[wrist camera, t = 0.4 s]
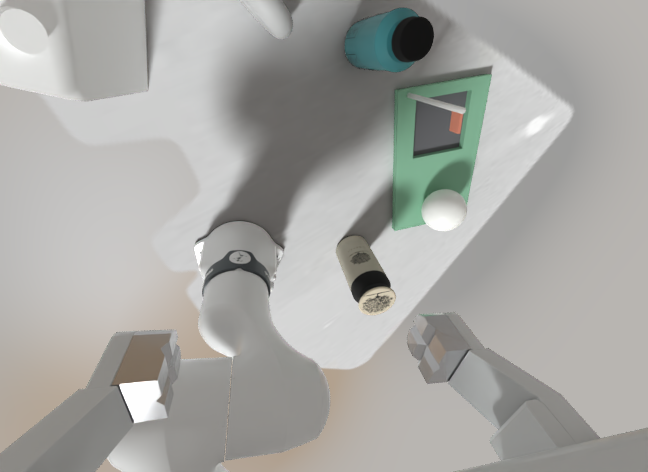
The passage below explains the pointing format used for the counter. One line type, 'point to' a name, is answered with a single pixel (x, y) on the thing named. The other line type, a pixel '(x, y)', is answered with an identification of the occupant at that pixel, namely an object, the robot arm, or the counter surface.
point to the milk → (74, 47)
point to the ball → (444, 210)
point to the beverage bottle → (389, 40)
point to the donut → (271, 16)
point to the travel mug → (365, 276)
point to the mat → (435, 142)
